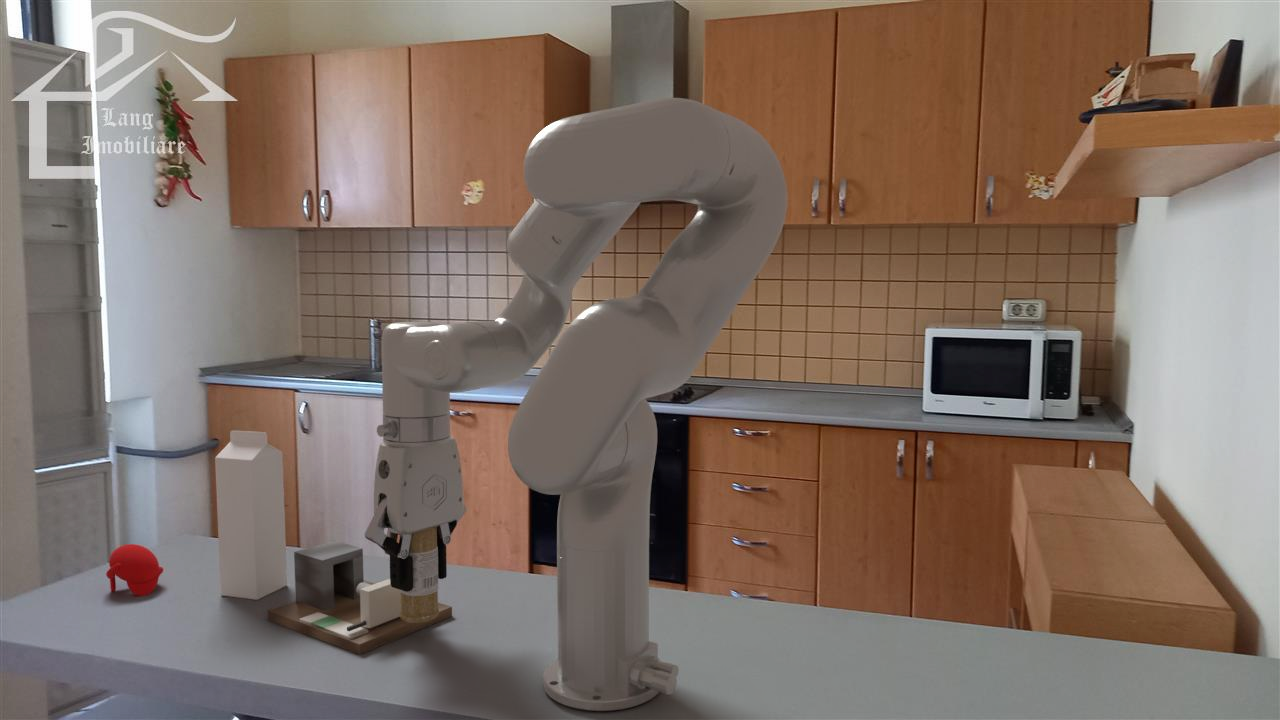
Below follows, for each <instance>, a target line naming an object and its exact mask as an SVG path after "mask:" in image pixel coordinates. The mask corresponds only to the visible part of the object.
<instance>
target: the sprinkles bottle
mask: <svg viewBox="0 0 1280 720" xmlns="http://www.w3.org/2000/svg"><path fill="white" fill-rule="evenodd" d="M408 556H410V557H412V559H413V589H412V590H411V591H408V592H406V591H403V590H400V592H401V612H400V617H401V619H402V620H404V621H406V622H410V623H421V622H427V621H431V620H433V619H434V618H436V617H437V616H438V614H439V609H438V603H439V599H438V598H439V597H438V595H439V593H438V590H439V578H438V546H437V526H436V527H432V528H429V529H425V530H422V531H419V532H415V533H412V534H411V541H410V547H409V553H408Z"/></svg>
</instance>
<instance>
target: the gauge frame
mask: <svg viewBox="0 0 1280 720" xmlns="http://www.w3.org/2000/svg"><path fill="white" fill-rule="evenodd" d="M293 553H294V554H293V559H294V561H293V562H294V585H295V587H294V590H295V592H294V593H295V600H294V601H291V602H288V603H284V604H282V605H279V606H277V607H273V608H270V609H267V610H266V612H267V613H266V617H267V621H270V622H272V623H276V624H278V625H281V626H284V627H286V628H288V629H290V630H294V631H297V632H299V633H302V634H304V635H308V636H309V637H312V638H314V639H317V640H320V641H322V642H325V643H328V644H331V645H333V646H336V647H338V648H342V649H344V650H345V651H349V652H352V653H354V654H357V655H359V656H360V655H362V654H364V653H367V652H369V651H372V650H375V649H376V648H378V647H380V646H383V645H385V644H389V643H391V642H394V641H396V640H397V639H401V638H402V637H405V636H407V635H410V634H411V633H414V632H417V631H420V630H421V629H425V628H427V627H429V626H431V625H433V624H436V623H439V622H441V621H442V620H446V619H448V618H450V617H453V607H452V606H451V605H447V604H445V603H441V602H438V609H439V614H438V616H437V617H436V618H434V619H433V620H431V621H427V622H421V623H410V622H406V621H404V620H402V619H401V617H397V618H395V619H392V620H390V621H387V622H384V623H382V624H379V625H377V626H374V627H372V628H367V627H364V626H362V627H359V628H357V629H354V630H351V631H347V627H349V626H351V625H354V624H357V623H359V622H361V610H360V595H358V594H357V593H356V588H357V586H358V585H359V584H360V583H362V582H363V583H367V584H370V585H373V584H376V583H375V582H372V581H369V580H366V579H364V550H363V547H359V546H355V545H351V544H347V543H346V542H345V543H344V542H341V541H338V540H331V541H329V542H324V543H322V544H318V545H315V546H311V547H307V548H304V549H300V550H297V551H294V552H293Z"/></svg>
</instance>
